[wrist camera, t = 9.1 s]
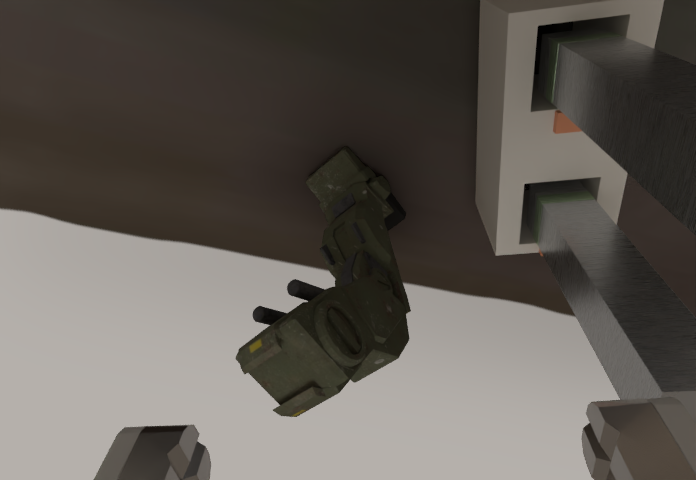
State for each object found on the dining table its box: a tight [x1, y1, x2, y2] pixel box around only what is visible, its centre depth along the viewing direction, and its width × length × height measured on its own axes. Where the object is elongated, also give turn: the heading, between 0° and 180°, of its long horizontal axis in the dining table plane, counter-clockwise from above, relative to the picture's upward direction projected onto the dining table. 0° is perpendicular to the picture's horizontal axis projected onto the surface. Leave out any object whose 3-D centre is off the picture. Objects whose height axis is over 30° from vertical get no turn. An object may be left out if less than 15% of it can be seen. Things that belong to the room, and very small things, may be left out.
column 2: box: [526, 180, 696, 423], centre depth 32 cm, size 4×4×22 cm
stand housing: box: [475, 0, 664, 256], centre depth 40 cm, size 20×10×11 cm, turn 7°
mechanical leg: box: [236, 147, 411, 417], centre depth 39 cm, size 14×7×30 cm, turn 42°
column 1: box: [537, 27, 696, 235], centre depth 26 cm, size 4×4×22 cm
